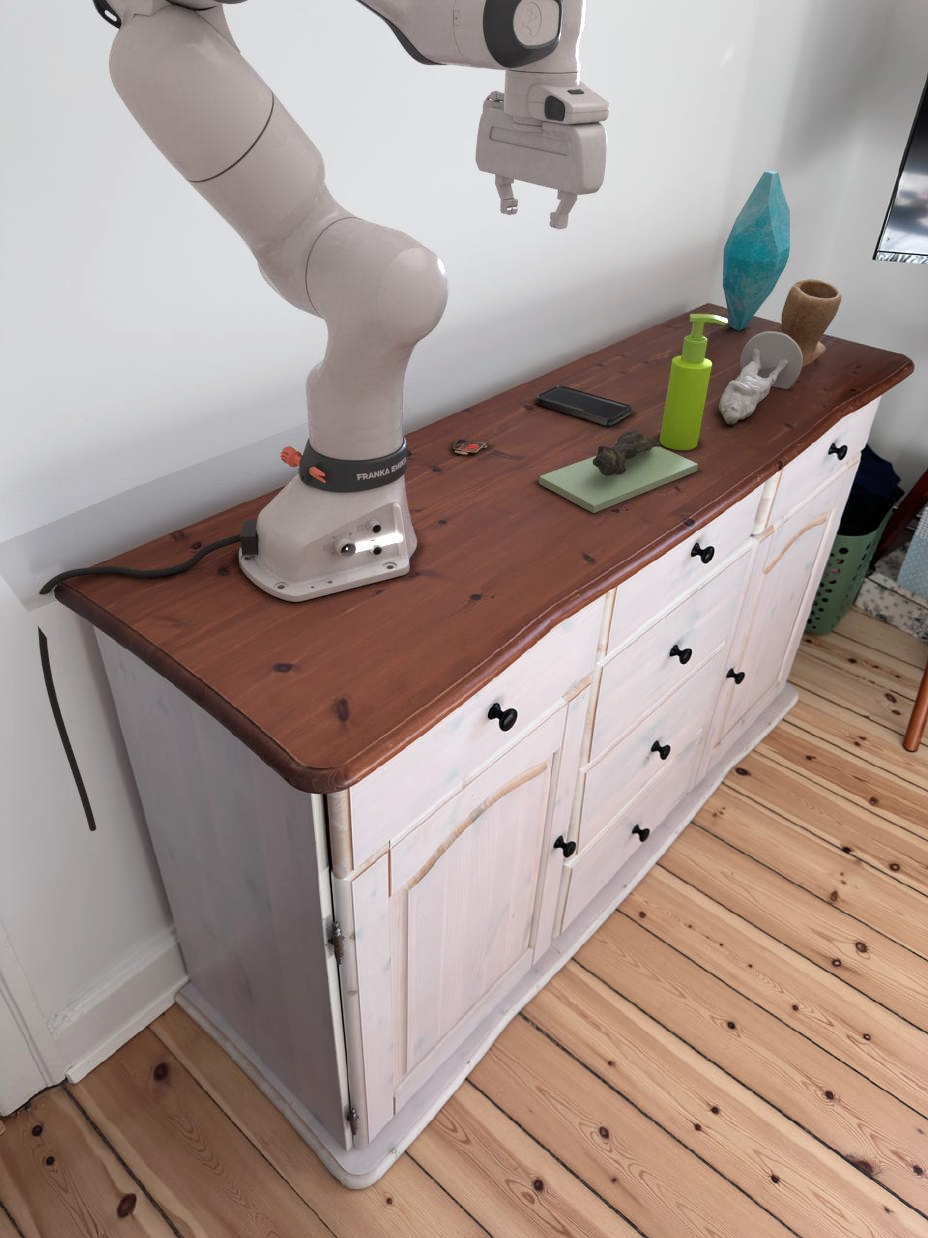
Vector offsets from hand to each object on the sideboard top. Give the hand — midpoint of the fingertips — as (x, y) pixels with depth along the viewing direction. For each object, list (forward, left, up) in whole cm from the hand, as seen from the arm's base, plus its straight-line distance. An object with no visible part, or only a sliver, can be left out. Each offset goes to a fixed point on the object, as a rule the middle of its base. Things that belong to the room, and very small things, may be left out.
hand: (532, 220), depth 119 cm
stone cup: (+74, +2, -34) cm, 82 cm away
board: (+9, -12, -34) cm, 37 cm away
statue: (+9, -13, -33) cm, 37 cm away
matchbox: (-3, +8, -34) cm, 35 cm away
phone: (+23, +9, -34) cm, 42 cm away
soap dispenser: (+26, -10, -34) cm, 44 cm away
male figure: (+48, -6, -34) cm, 59 cm away
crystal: (+82, +21, -34) cm, 91 cm away
